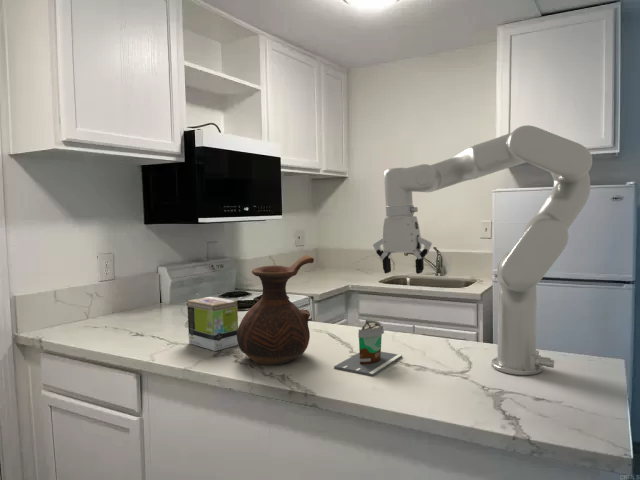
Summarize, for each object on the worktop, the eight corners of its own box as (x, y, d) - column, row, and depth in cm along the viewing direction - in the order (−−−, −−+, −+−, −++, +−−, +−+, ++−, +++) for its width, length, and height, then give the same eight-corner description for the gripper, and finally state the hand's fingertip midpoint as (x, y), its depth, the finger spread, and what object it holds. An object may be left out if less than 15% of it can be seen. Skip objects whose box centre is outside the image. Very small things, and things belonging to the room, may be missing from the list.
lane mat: (402, 357, 141) (402, 354, 141) (372, 376, 126) (372, 373, 126) (365, 350, 147) (365, 348, 147) (334, 368, 133) (334, 366, 133)
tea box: (240, 344, 158) (238, 300, 157) (214, 352, 150) (212, 305, 149) (213, 337, 168) (211, 295, 167) (187, 343, 161) (185, 299, 159)
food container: (381, 367, 131) (380, 331, 130) (359, 366, 132) (358, 330, 131) (387, 353, 142) (386, 320, 142) (366, 352, 144) (365, 319, 143)
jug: (285, 375, 128) (281, 263, 126) (222, 364, 139) (218, 260, 137) (324, 352, 147) (322, 254, 145) (266, 343, 158) (263, 252, 156)
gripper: (433, 210, 134) (437, 271, 135) (377, 213, 144) (381, 270, 145) (424, 211, 128) (427, 275, 129) (366, 214, 138) (369, 274, 139)
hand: (403, 272), depth 137 cm, fingers open, 9 cm apart
